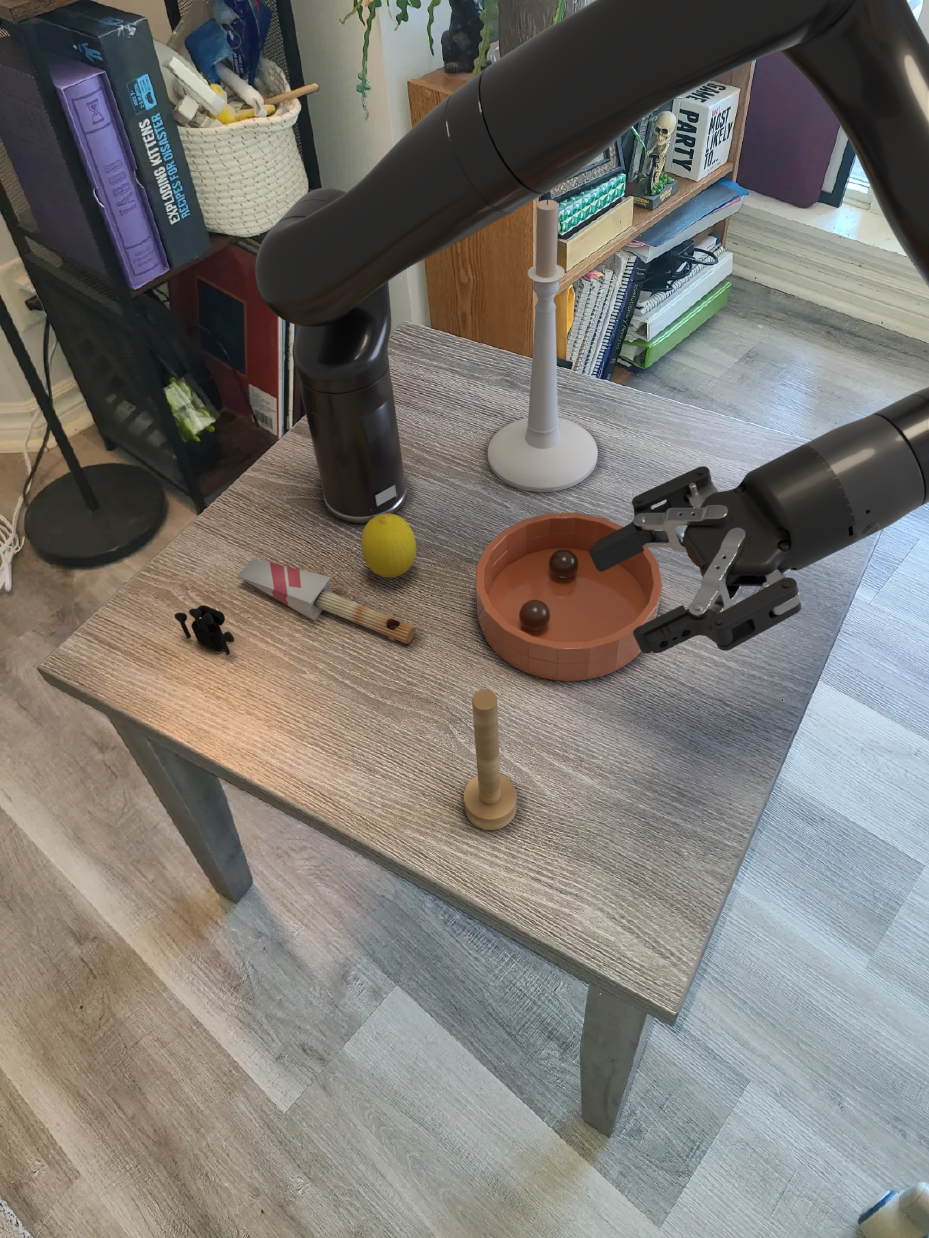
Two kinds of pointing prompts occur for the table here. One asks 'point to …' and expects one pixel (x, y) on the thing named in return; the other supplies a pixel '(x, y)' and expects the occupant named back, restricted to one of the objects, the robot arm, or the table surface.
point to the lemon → (388, 545)
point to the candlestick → (543, 392)
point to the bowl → (564, 598)
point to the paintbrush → (318, 597)
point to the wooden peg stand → (488, 770)
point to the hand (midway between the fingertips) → (614, 600)
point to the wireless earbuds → (207, 628)
